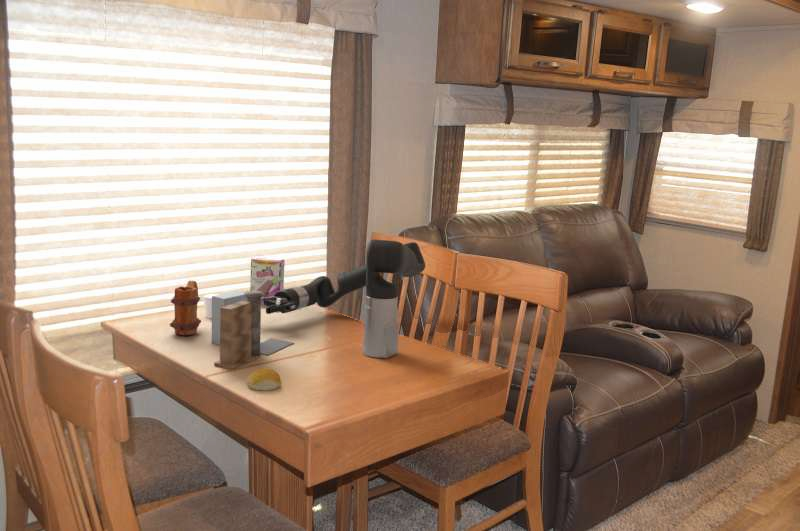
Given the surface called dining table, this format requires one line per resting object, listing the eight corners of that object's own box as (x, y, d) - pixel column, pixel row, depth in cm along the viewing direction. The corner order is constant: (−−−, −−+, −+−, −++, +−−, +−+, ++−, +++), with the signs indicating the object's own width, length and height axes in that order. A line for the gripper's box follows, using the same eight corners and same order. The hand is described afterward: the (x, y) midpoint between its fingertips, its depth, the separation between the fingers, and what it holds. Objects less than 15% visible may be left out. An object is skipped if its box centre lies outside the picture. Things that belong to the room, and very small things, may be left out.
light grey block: (248, 338, 226) (249, 293, 224) (223, 345, 218) (224, 298, 215) (236, 335, 229) (237, 290, 226) (211, 342, 220) (211, 295, 218)
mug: (194, 338, 223) (194, 289, 220) (167, 337, 223) (167, 287, 220) (207, 325, 237) (208, 279, 235) (182, 324, 237) (182, 278, 235)
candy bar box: (249, 303, 268) (250, 258, 265) (253, 300, 273) (254, 256, 270) (279, 306, 267) (280, 261, 264) (283, 303, 272) (284, 258, 269)
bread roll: (279, 379, 193) (279, 364, 192) (281, 391, 185) (282, 375, 184) (246, 379, 191) (246, 364, 190) (247, 392, 183) (247, 376, 182)
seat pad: (271, 339, 227) (271, 338, 227) (294, 343, 224) (294, 342, 224) (244, 350, 214) (244, 349, 214) (267, 355, 211) (267, 354, 211)
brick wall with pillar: (249, 350, 215) (250, 289, 211) (267, 354, 212) (268, 292, 209) (214, 365, 200) (214, 300, 197) (232, 369, 198) (233, 303, 194)
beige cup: (229, 316, 250) (229, 295, 249) (214, 320, 245) (214, 299, 243) (214, 312, 254) (214, 292, 253) (199, 316, 248) (199, 295, 247)
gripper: (308, 314, 241) (273, 324, 228) (275, 306, 249) (239, 315, 235) (308, 291, 240) (273, 300, 226) (275, 284, 247) (239, 292, 234)
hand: (256, 308), depth 231 cm, fingers open, 8 cm apart
